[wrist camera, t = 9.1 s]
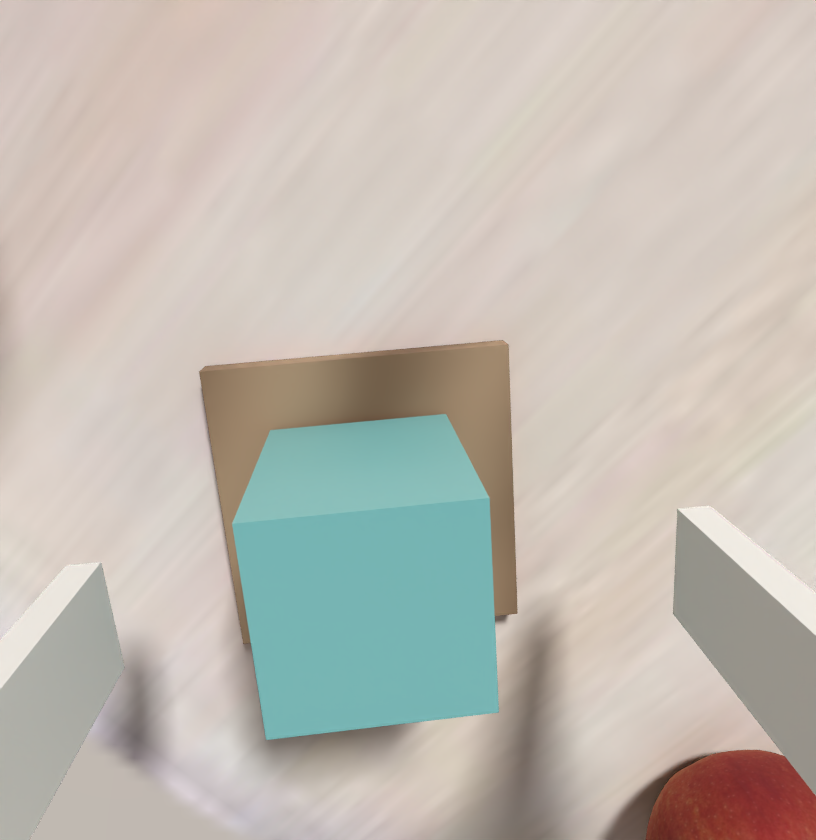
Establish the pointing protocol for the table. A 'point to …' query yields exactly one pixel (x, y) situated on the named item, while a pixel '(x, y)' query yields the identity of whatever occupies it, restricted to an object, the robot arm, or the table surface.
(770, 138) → the table surface
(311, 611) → the teal rectangular block
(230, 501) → the peg stand
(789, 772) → the apple
